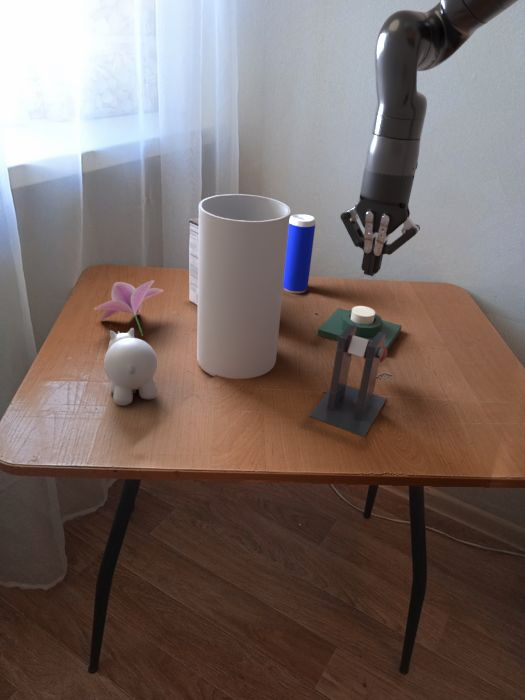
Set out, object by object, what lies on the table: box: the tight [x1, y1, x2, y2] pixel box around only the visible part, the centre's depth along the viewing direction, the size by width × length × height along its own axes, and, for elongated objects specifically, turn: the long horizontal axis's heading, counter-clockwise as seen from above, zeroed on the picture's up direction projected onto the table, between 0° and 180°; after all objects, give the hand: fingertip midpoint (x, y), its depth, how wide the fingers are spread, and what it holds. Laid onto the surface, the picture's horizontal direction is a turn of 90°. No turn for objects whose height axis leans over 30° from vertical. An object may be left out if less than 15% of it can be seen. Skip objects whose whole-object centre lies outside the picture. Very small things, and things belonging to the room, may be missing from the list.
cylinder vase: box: [196, 193, 291, 380], centre depth 83 cm, size 12×12×25 cm
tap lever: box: [348, 335, 388, 364], centre depth 79 cm, size 14×4×4 cm, turn 152°
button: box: [350, 305, 376, 325], centre depth 97 cm, size 4×4×2 cm
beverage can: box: [283, 213, 316, 294], centre depth 111 cm, size 5×5×15 cm
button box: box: [317, 307, 402, 352], centre depth 98 cm, size 12×10×4 cm
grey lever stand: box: [308, 324, 387, 438], centre depth 76 cm, size 10×8×13 cm
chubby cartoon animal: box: [103, 327, 159, 406], centre depth 80 cm, size 7×12×8 cm, turn 22°
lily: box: [92, 279, 165, 337], centre depth 95 cm, size 12×12×10 cm
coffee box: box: [188, 217, 199, 306], centre depth 103 cm, size 9×6×16 cm
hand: (369, 273), depth 93 cm, fingers closed
